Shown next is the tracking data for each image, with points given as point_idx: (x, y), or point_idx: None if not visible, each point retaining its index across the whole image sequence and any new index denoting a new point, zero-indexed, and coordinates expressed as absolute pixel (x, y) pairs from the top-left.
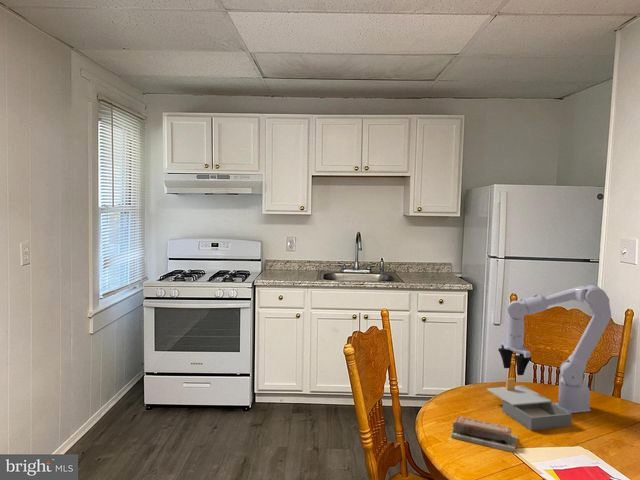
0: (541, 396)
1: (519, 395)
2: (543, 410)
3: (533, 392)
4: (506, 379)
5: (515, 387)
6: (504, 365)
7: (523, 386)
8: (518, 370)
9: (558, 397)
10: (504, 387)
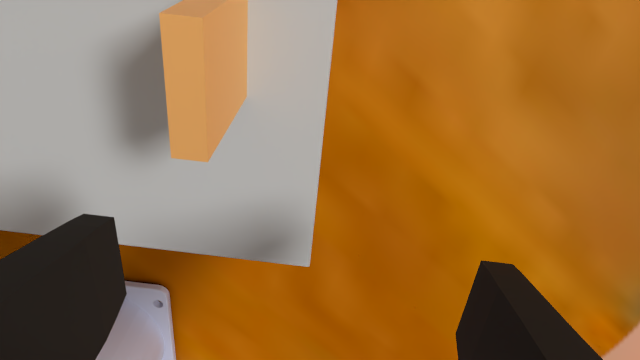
0: (12, 212)
1: (33, 9)
2: None
3: (118, 220)
4: (199, 12)
5: (280, 156)
6: (504, 292)
7: (284, 249)
8: (2, 262)
9: (115, 345)
10: (316, 24)
